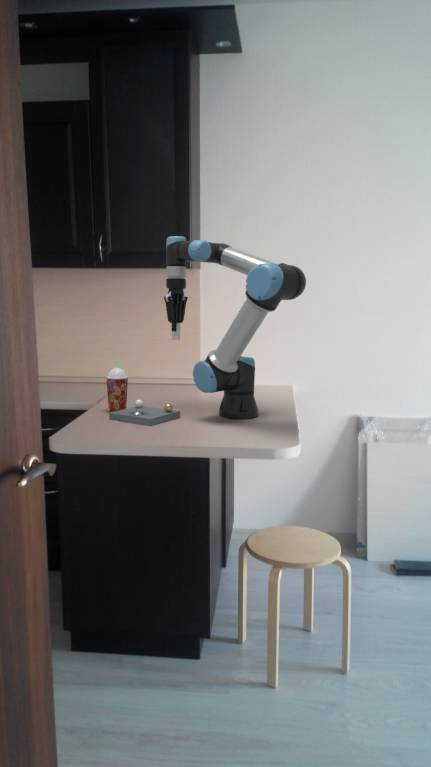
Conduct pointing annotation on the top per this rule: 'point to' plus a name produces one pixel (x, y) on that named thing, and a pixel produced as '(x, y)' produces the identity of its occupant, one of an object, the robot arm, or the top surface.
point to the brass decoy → (168, 407)
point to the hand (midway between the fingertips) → (175, 339)
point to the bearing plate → (144, 415)
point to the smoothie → (117, 389)
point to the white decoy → (138, 403)
